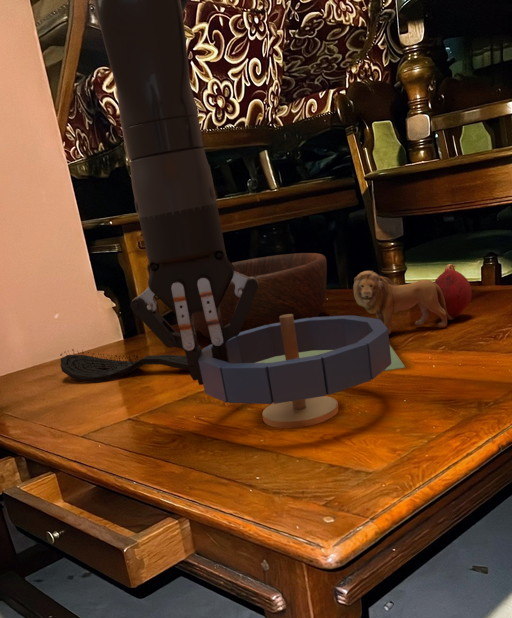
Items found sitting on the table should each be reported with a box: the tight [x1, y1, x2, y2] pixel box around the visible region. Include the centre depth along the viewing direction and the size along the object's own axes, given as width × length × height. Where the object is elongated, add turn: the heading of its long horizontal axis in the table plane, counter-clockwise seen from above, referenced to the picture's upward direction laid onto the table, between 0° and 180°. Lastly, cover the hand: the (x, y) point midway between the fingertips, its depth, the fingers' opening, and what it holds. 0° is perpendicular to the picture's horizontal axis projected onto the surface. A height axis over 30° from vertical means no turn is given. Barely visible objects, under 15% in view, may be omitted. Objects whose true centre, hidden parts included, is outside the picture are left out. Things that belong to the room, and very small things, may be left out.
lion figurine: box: [352, 270, 454, 335], centre depth 98 cm, size 15×5×9 cm, turn 101°
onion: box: [433, 263, 473, 320], centre depth 101 cm, size 6×6×8 cm
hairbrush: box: [59, 348, 190, 384], centre depth 103 cm, size 8×4×25 cm
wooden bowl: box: [193, 252, 328, 340], centre depth 118 cm, size 25×25×10 cm
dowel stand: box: [261, 314, 339, 429], centre depth 71 cm, size 8×8×11 cm
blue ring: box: [198, 314, 391, 405], centre depth 71 cm, size 19×19×4 cm
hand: (212, 380), depth 72 cm, fingers closed on blue ring, 1 cm apart
